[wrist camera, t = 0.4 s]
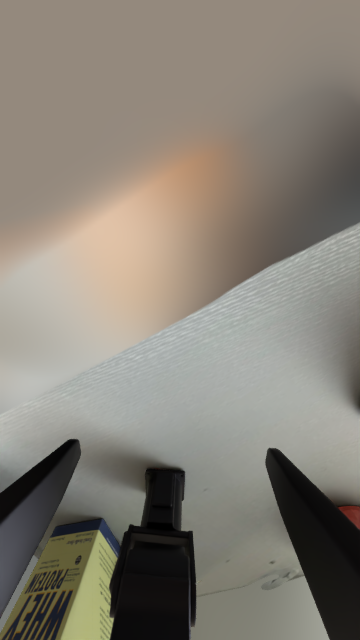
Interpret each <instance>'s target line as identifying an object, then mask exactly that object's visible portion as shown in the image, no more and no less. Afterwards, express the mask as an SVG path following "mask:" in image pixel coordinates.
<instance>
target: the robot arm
mask: <svg viewBox="0 0 360 640" xmlns="http://www.w3.org/2000/svg"><path fill="white" fill-rule="evenodd" d="M80 456H81V449H80V443H79V440H78V439H69V440H68V441H66V442H65V443H64V444H63V445H61V446H60V447H59V448H57V449H56V450H55V451H54V452H52V453H51V454H50V455H48V456H47V457H46V458H45V459H43V460H42V461H41V462H40V463H38V464H37V465H36V466H34V467H33V468H32V469H31V470H29V471H28V472H27V473H25V474H24V475H23V476H22V477H20V478H19V479H18V480H16V481H15V482H14V483H13V484H11V485H10V486H9V487H8V488H6V489H5V490H4V491H2V492H1V493H0V618H1V616H2V614H3V612H4V610H5V608H6V606H7V605H8V603H9V601H10V599H11V597H12V595H13V593H14V591H15V589H16V587H17V585H18V583H19V581H20V580H21V577H22V576H23V574H24V572H25V570H26V568H27V566H28V564H29V562H30V560H31V558H32V556H33V555H34V553H35V551H36V549H37V547H38V545H39V543H40V541H41V539H42V537H43V535H44V533H45V531H46V530H47V528H48V526H49V524H50V522H51V520H52V518H53V516H54V514H55V512H56V510H57V508H58V506H59V504H60V502H61V500H62V498H63V496H64V494H65V491H66V489H67V487H68V484H69V482H70V480H71V477H72V475H73V473H74V470H75V468H76V466H77V463H78V461H79V459H80ZM265 463H266V468H267V472H268V475H269V478H270V481H271V485H272V488H273V491H274V494H275V498H276V501H277V504H278V507H279V510H280V513H281V516H282V519H283V521H284V524H285V526H286V529H287V532H288V534H289V537H290V539H291V542H292V544H293V547H294V549H295V552H296V555H297V557H298V560H299V562H300V565H301V567H302V570H303V572H304V575H305V578H306V580H307V582H308V585H309V588H310V590H311V593H312V595H313V598H314V600H315V603H316V606H317V608H318V611H319V613H320V616H321V618H322V621H323V624H324V626H325V629H326V631H327V634H328V636H329V639H330V640H360V529H359V528H358V527H357V526H356V525H355V524H354V523H353V522H352V521H351V520H350V519H349V518H348V517H347V516H346V515H345V514H344V513H343V512H341V511H340V510H339V509H338V508H337V507H336V506H335V505H334V504H333V503H332V502H331V501H330V500H329V499H328V498H327V497H326V496H325V495H324V494H323V493H322V492H321V491H320V490H319V489H318V488H317V487H316V486H315V485H314V484H313V483H312V482H311V481H310V480H309V479H308V478H307V477H306V476H305V475H304V474H303V473H302V472H301V471H300V470H299V469H298V468H297V467H296V466H295V465H294V464H293V463H292V462H291V461H290V460H289V459H288V458H287V457H286V456H285V455H284V454H283V453H282V452H281V451H280V450H278V449H276V448H269V449H268V450H267V456H266V461H265ZM145 480H146V499H145V504H144V510H143V516H142V521H141V526H134V525H132V524H130V525H129V529H128V531H126V532H125V533H124V536H123V541H122V545H121V549H120V552H119V556H118V559H117V562H116V565H115V568H114V571H113V574H112V577H111V580H110V584H109V591H110V594H111V601H110V604H111V606H110V614H109V617H110V618H114V620H113V625H112V630H111V635H110V640H190V639H191V635H190V627H195V621H196V574H195V560H194V545H193V531H188V532H187V531H181V515H182V501H183V500H184V484H185V472H184V471H181V470H163V469H146V473H145Z"/></svg>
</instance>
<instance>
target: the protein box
mask: <svg viewBox="0 0 360 640" xmlns="http://www.w3.org/2000/svg"><path fill="white" fill-rule="evenodd" d="M120 549H121V547H120V546H119V544H118V542H117V541H116V539H115V537H114V536H113V534H112V532H111V531H110V529H109V528H108V526H107V524H106V523H105V521H104V519H99V520H93V521H87V522H82V523H76V524H70V525H64V526H58V527H55V529H54V531H53V533H52V535H51V537H50V539H49V541H48V543H47V545H46V547H45V549H44V551H43V552H42V554H41V556H40V558H39V560H38V562H37V564H36V566H35V568H34V570H33V572H32V574H31V575H30V577H29V579H28V581H27V583H26V585H25V587H24V589H23V591H22V593H21V595H20V597H19V599H18V601H17V602H16V604H15V606H14V608H13V610H12V612H11V614H10V616H9V618H8V620H7V622H6V624H5V626H4V627H3V630H2V631H1V633H0V640H110V635H111V630H112V625H113V620H114V618H110V617H109V614H110V606H111V604H110V601H111V594H110V591H109V584H110V580H111V577H112V574H113V571H114V568H115V565H116V562H117V559H118V556H119V552H120Z"/></svg>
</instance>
